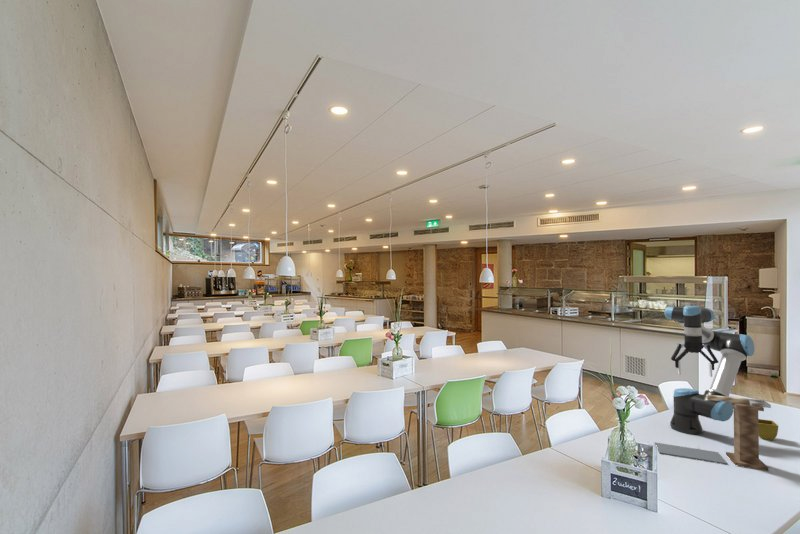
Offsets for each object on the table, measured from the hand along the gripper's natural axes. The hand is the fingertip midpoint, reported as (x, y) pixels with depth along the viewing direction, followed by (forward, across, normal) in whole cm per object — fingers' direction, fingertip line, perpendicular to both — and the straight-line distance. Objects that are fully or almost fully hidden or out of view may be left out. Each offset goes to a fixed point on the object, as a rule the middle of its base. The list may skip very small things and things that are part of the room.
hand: (694, 375), depth 206 cm
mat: (+36, -7, -16) cm, 40 cm away
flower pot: (+38, +36, +26) cm, 59 cm away
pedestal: (+36, +15, -16) cm, 42 cm away
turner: (+8, +13, -15) cm, 21 cm away
